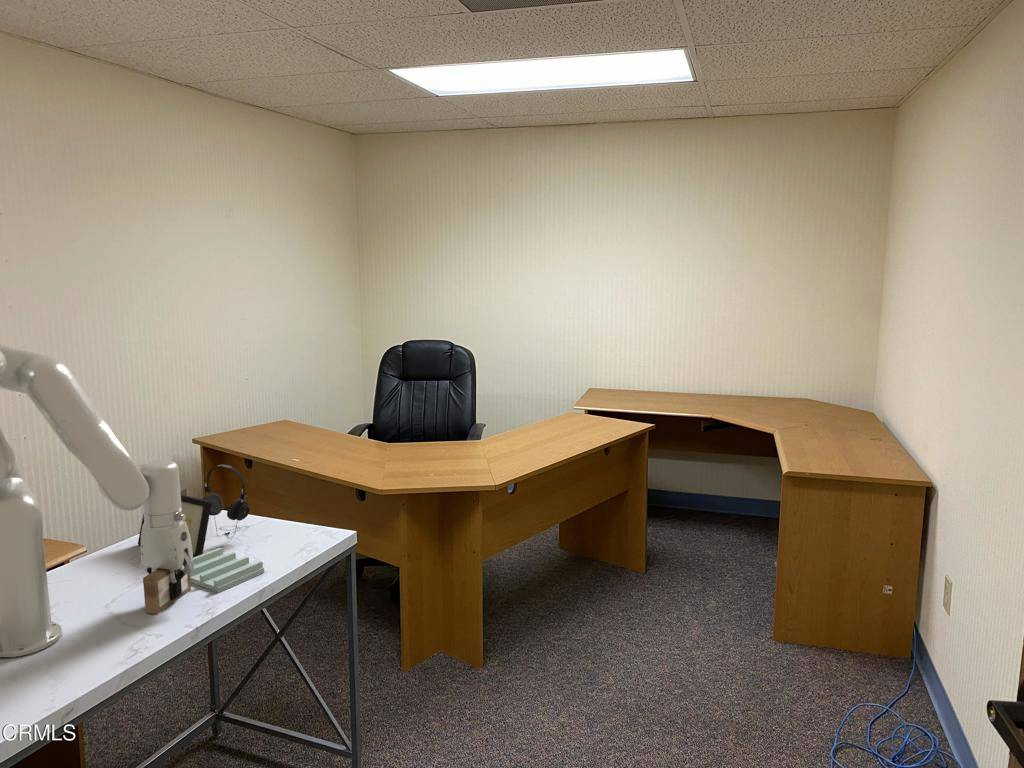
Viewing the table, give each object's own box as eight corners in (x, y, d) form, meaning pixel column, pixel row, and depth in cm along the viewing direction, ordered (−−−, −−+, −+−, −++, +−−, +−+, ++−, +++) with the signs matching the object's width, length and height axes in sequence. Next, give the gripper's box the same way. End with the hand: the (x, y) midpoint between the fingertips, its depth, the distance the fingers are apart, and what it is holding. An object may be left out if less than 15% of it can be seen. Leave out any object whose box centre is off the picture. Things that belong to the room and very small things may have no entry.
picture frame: (137, 545, 195) (138, 489, 194) (166, 537, 203) (168, 484, 202) (197, 562, 184) (199, 503, 183) (226, 554, 192) (228, 497, 191)
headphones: (269, 531, 206) (265, 462, 202) (238, 545, 196) (234, 472, 192) (229, 522, 212) (225, 455, 208) (197, 535, 202) (192, 465, 198)
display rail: (218, 592, 168) (217, 581, 168) (172, 575, 177) (172, 564, 176) (264, 572, 179) (263, 562, 178) (219, 557, 188) (218, 547, 187)
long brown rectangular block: (156, 614, 158) (154, 579, 156) (145, 612, 158) (142, 577, 157) (191, 590, 169) (189, 557, 168) (181, 588, 170) (179, 556, 168)
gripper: (207, 514, 162) (211, 593, 166) (142, 509, 166) (148, 585, 169) (185, 526, 155) (191, 608, 158) (118, 520, 158) (125, 600, 162)
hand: (169, 595), depth 164 cm, fingers closed on long brown rectangular block, 2 cm apart
